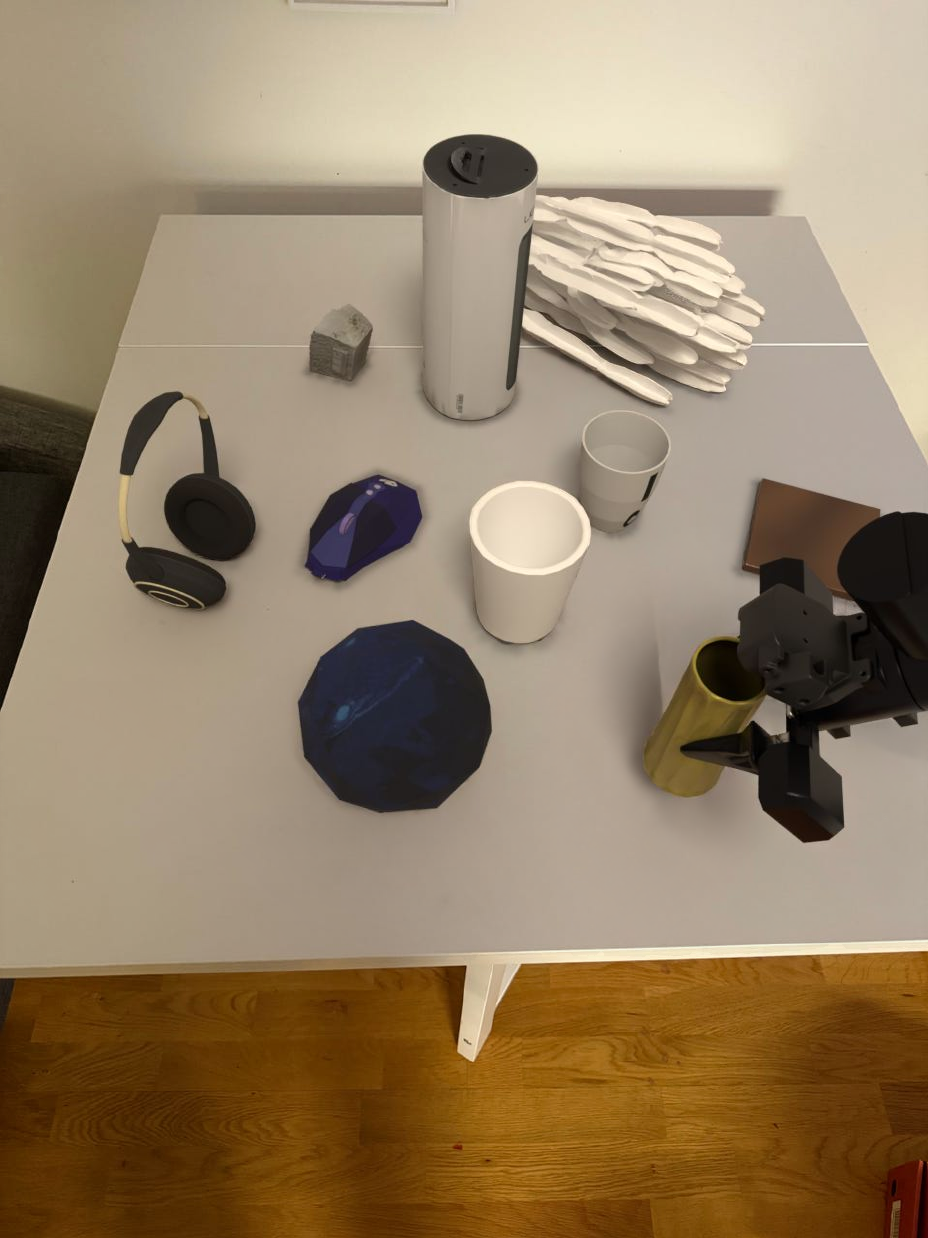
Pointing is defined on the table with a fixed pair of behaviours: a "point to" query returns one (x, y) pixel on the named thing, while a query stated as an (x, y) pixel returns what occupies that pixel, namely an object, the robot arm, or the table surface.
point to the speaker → (475, 270)
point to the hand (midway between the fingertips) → (684, 716)
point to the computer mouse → (362, 526)
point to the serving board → (804, 530)
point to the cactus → (636, 294)
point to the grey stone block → (340, 343)
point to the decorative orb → (395, 718)
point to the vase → (702, 716)
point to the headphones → (185, 517)
